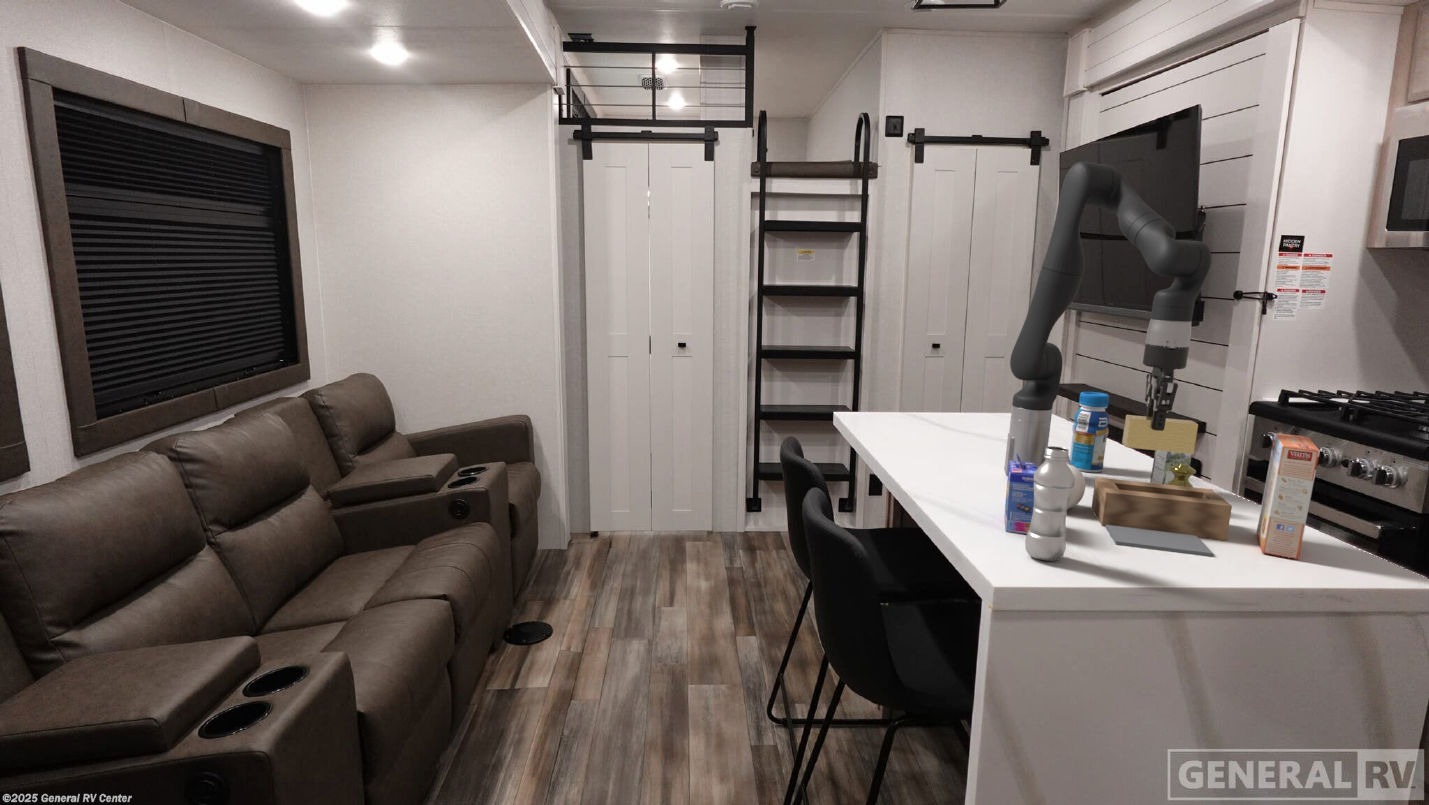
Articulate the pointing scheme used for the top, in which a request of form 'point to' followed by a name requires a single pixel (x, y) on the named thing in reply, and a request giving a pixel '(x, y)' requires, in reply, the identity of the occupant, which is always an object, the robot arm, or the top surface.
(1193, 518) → the pocket board
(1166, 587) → the top surface
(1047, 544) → the plastic bottle
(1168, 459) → the syrup box
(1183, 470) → the gold spiky piece
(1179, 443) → the pale yellow rectangular block
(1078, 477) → the ornament
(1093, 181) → the robot arm
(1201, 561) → the top surface
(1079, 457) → the beverage bottle
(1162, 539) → the slate mat
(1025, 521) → the ink cartridge box
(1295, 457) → the cracker box
